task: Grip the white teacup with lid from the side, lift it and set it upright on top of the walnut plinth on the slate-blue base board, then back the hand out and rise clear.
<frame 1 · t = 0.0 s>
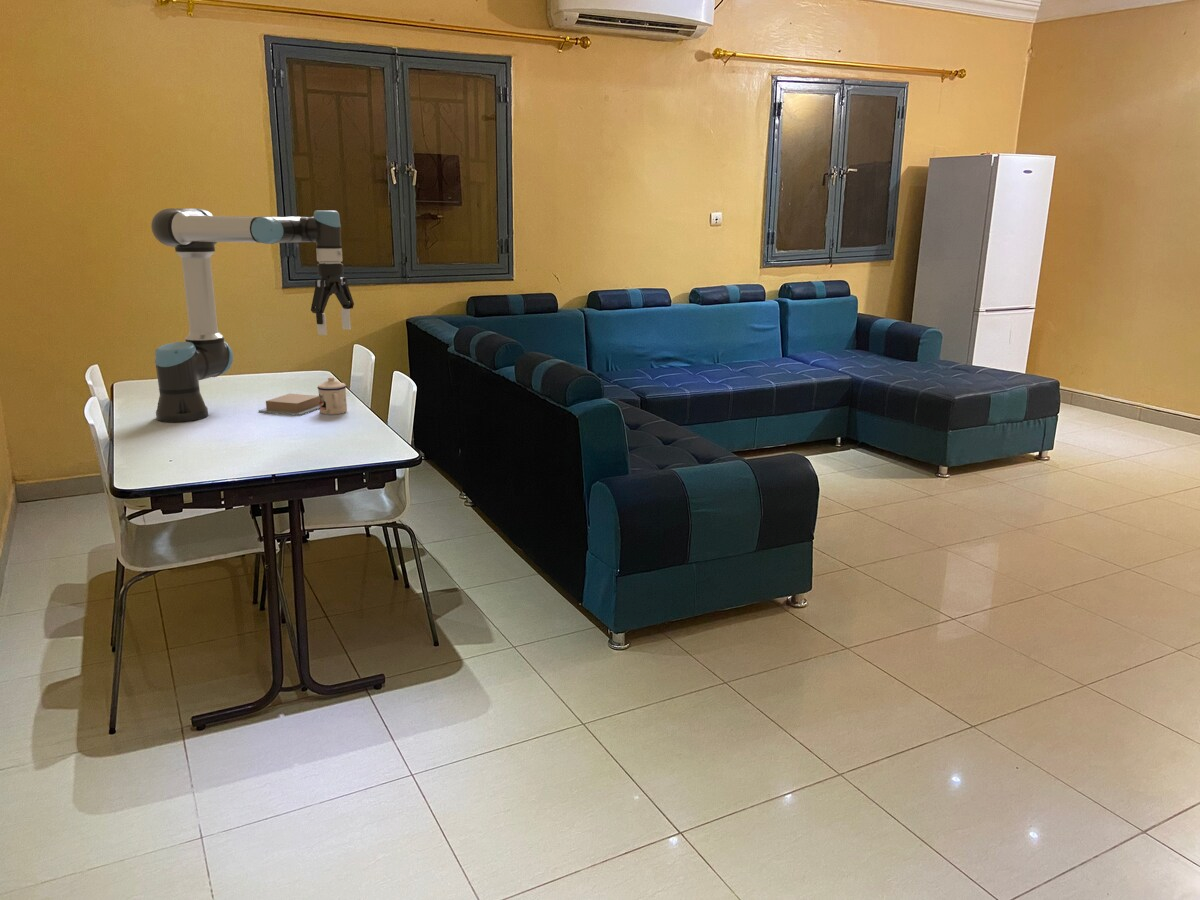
hand: (334, 332, 273), 28 cm above the table, tool pointing down, fingers open, 13 cm apart
build base: (294, 408, 295), on the table
teacup with lid: (334, 413, 290), on the table
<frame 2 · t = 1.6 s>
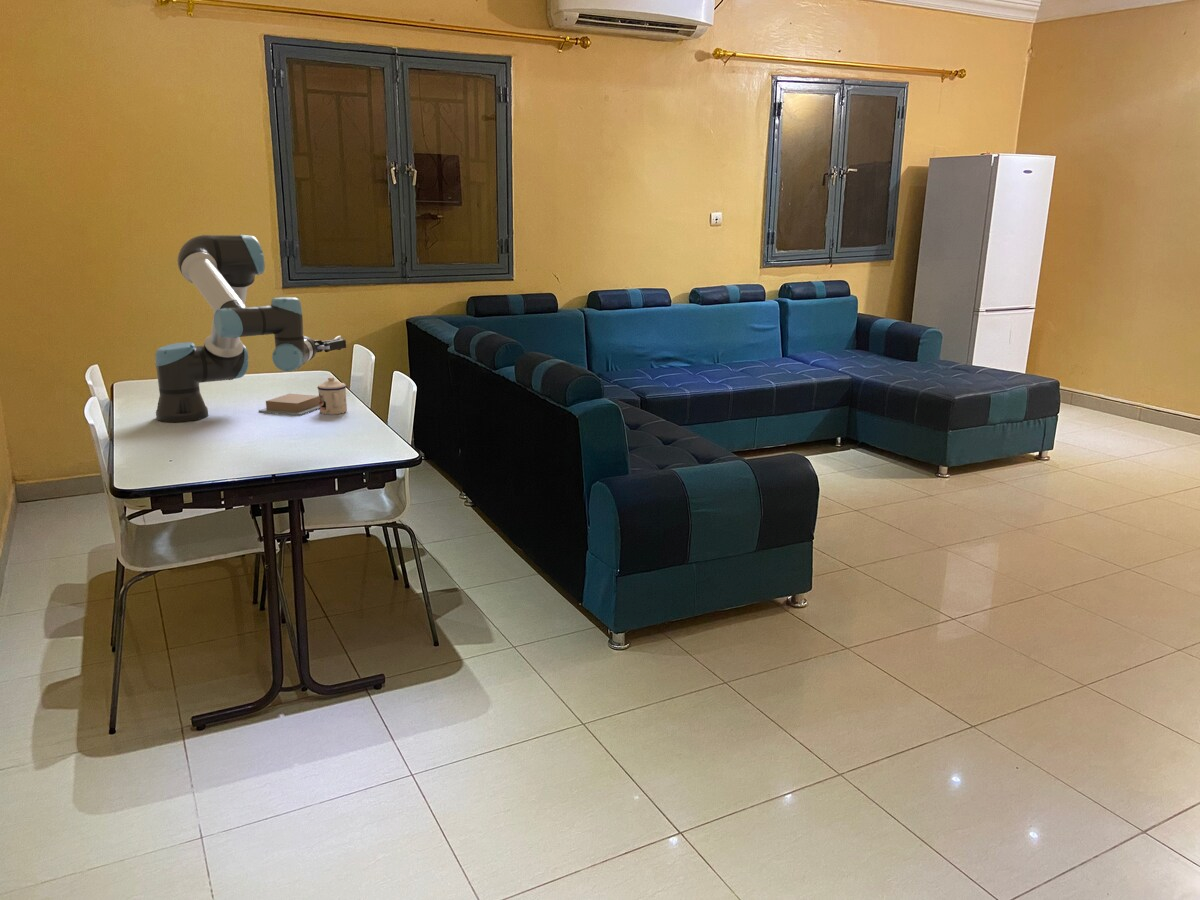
hand: (317, 340, 269), 26 cm above the table, tool horizontal, fingers open, 13 cm apart
nothing on the table moved.
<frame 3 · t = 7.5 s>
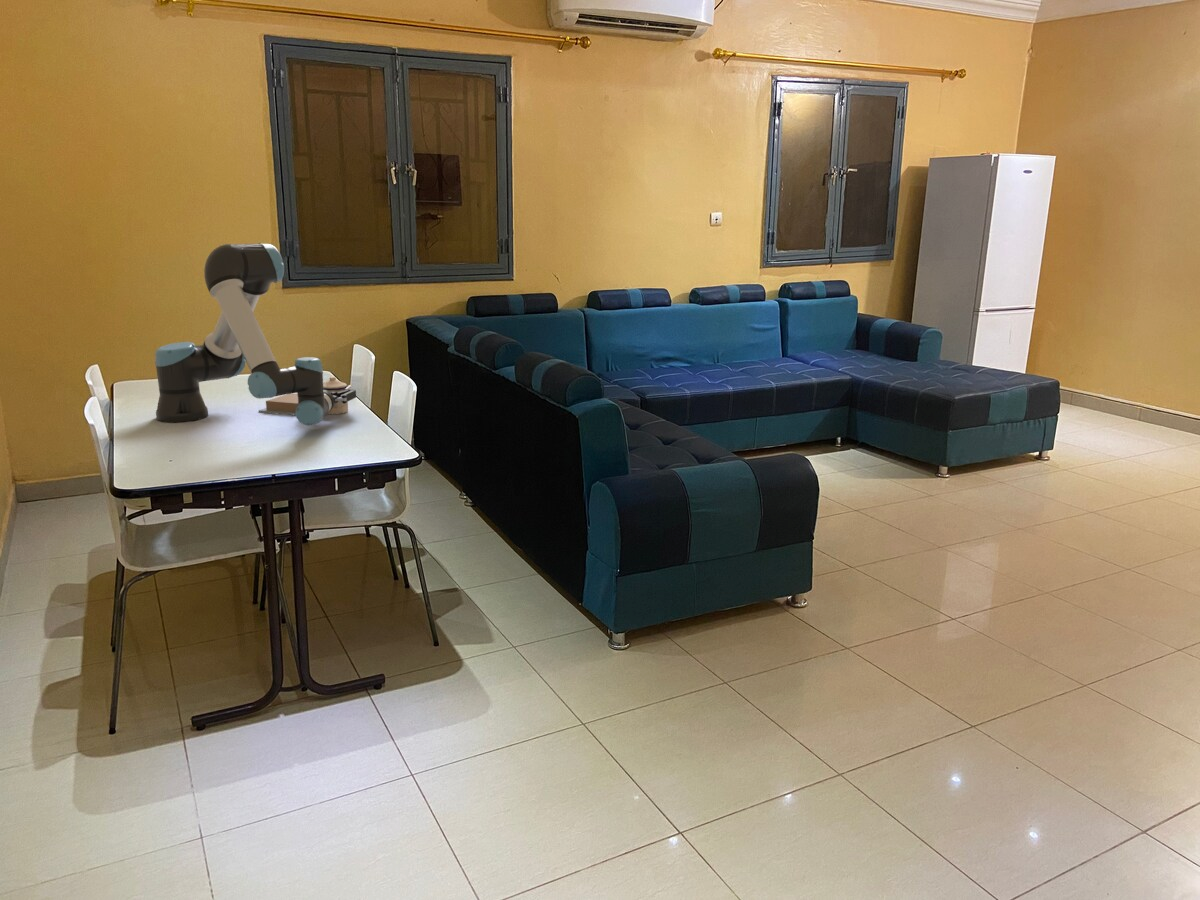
hand: (335, 389, 292), 7 cm above the table, tool horizontal, fingers closed on teacup with lid, 9 cm apart
teacup with lid: (335, 413, 290), on the table, touching gripper
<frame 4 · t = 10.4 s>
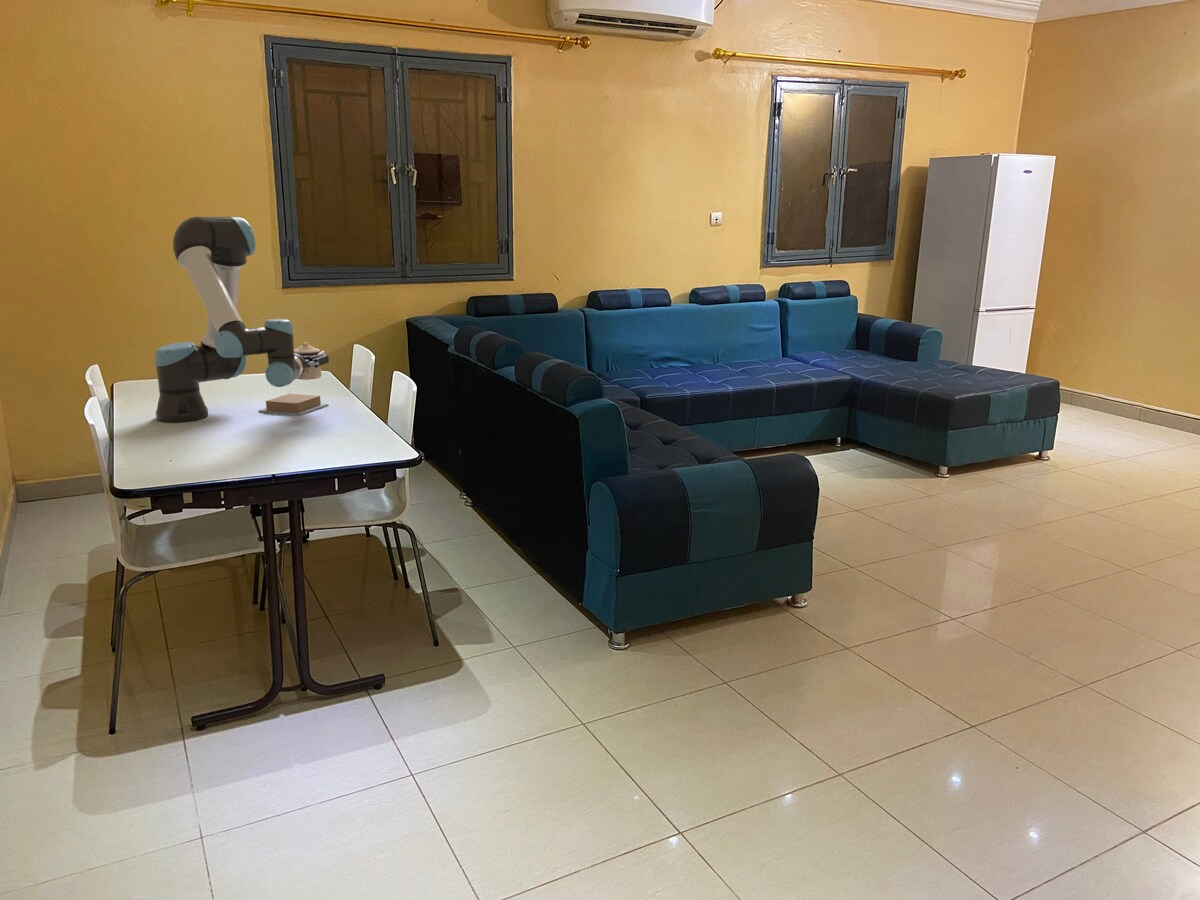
hand: (308, 354, 292), 18 cm above the table, tool horizontal, fingers closed on teacup with lid, 9 cm apart
teacup with lid: (308, 378, 289), point 11 cm above the table, touching gripper
when the fingers open (12 cm above the table, at t = 13.4 s): teacup with lid drops 1 cm, resting on build base.
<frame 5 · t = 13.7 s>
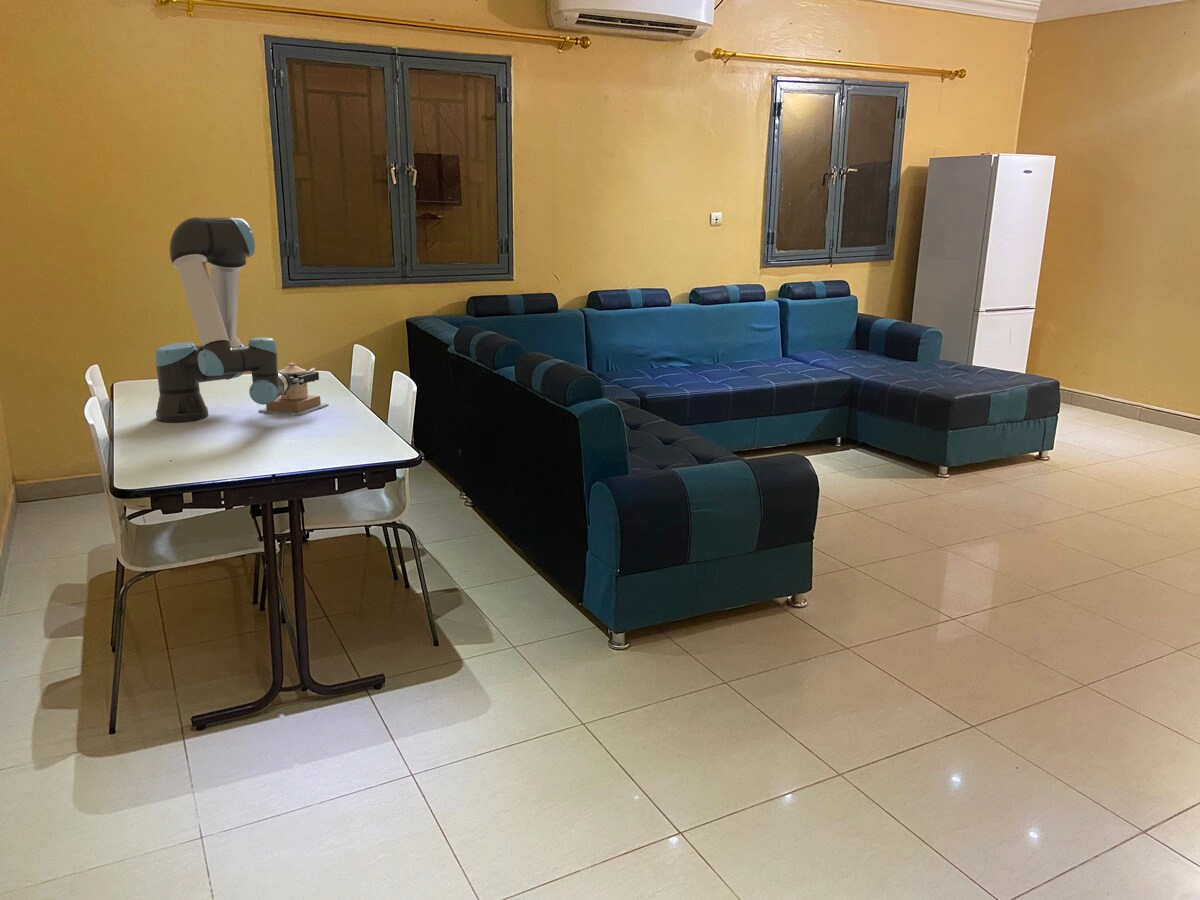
hand: (293, 371, 295), 12 cm above the table, tool horizontal, fingers open, 13 cm apart
teacup with lid: (295, 398, 294), point 3 cm above the table, touching build base
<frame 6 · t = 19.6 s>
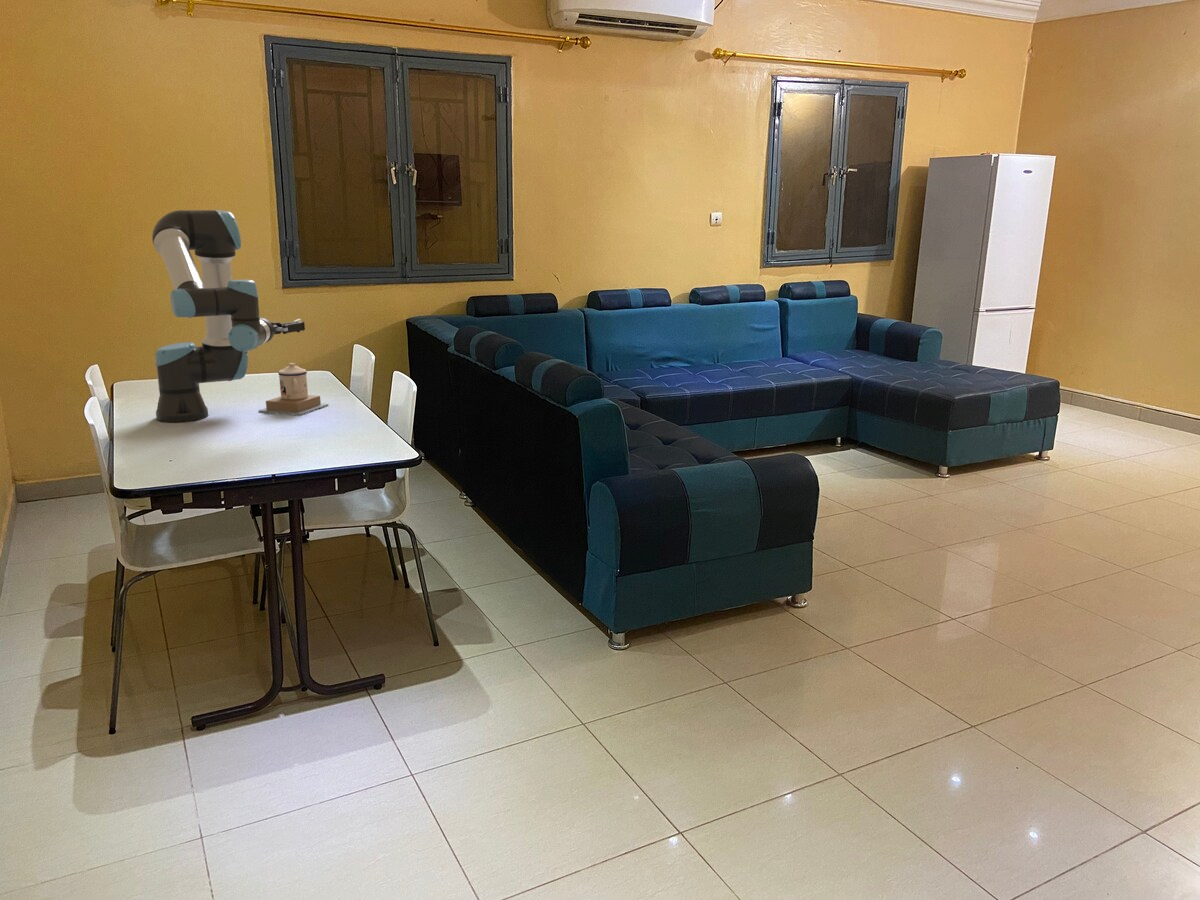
hand: (278, 323, 278), 30 cm above the table, tool horizontal, fingers open, 13 cm apart
nothing on the table moved.
at the end: teacup with lid inside the target area on the build base (0.5 cm from its centre), point 3.4 cm above the build base's base; teacup with lid tilted 0°; the gripper is holding nothing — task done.
